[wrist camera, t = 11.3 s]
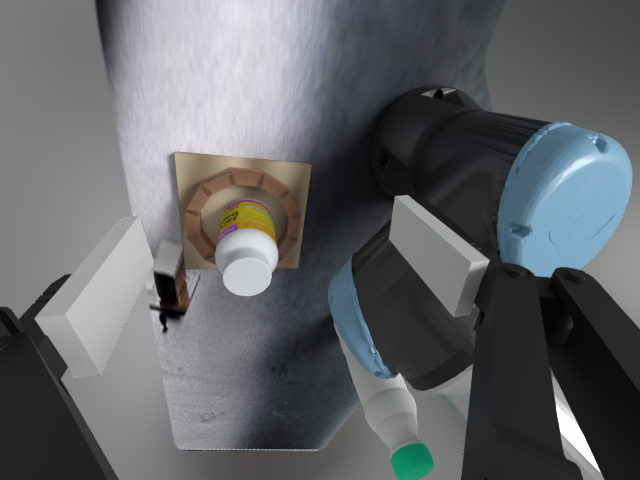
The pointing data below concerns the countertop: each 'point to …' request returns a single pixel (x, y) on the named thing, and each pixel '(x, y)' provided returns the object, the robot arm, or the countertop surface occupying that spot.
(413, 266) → the robot arm
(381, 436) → the water bottle
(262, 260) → the supplement bottle
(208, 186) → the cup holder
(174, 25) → the countertop surface
